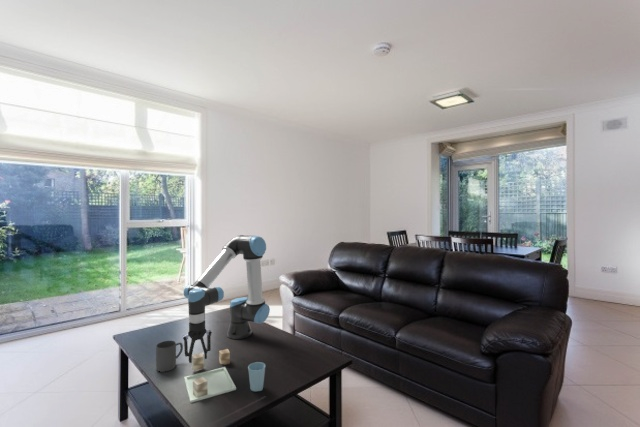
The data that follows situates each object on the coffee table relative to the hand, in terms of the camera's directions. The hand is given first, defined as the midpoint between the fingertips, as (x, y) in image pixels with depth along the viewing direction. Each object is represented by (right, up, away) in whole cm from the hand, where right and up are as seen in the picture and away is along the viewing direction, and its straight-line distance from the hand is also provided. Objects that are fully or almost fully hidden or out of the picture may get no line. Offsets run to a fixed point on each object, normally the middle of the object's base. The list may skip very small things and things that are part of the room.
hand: (198, 366), depth 156 cm
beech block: (0, 0, 0) cm, 0 cm away
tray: (+10, -3, -12) cm, 16 cm away
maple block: (+9, -2, -20) cm, 22 cm away
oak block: (+10, -2, +9) cm, 14 cm away
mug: (-17, -2, +6) cm, 18 cm away
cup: (+32, -3, -15) cm, 35 cm away
